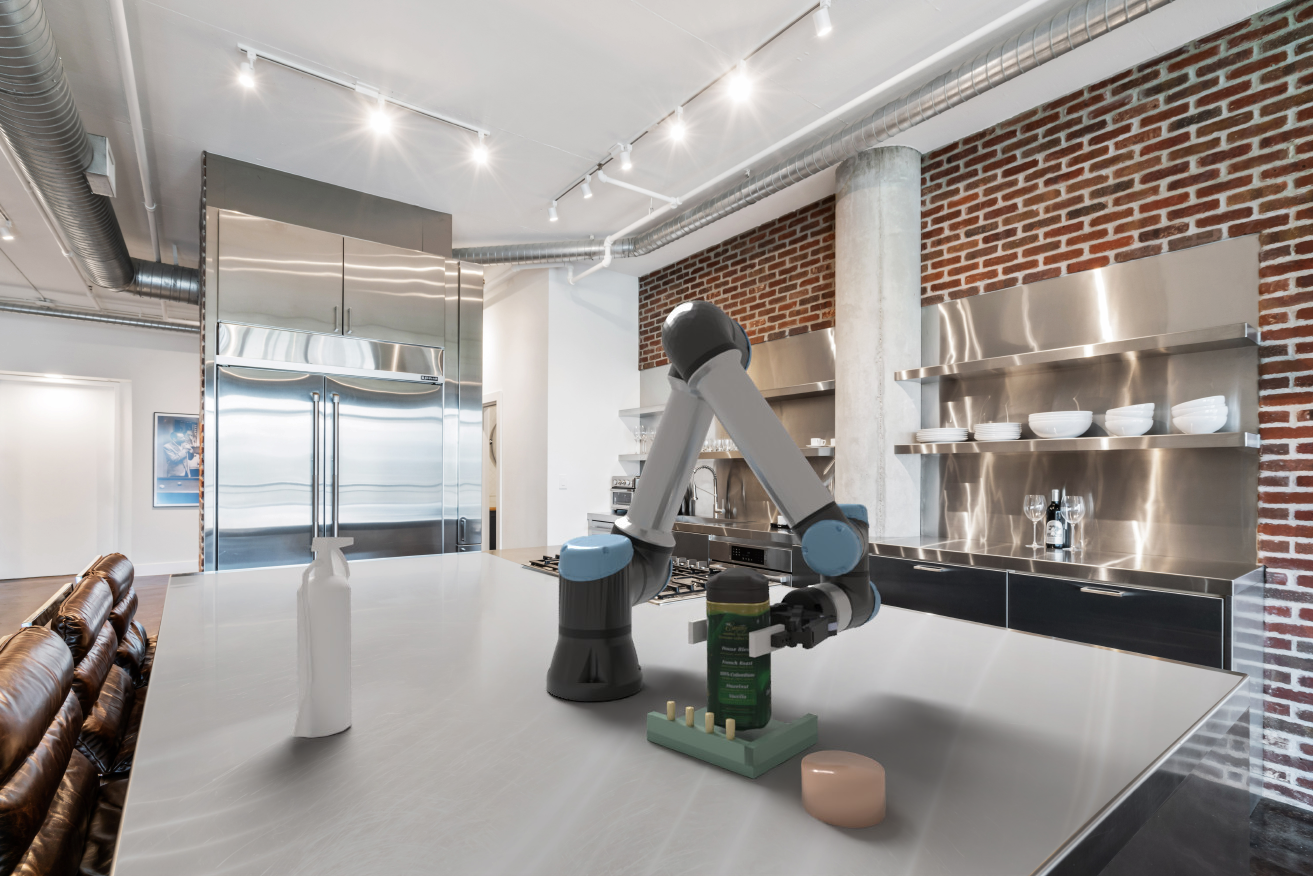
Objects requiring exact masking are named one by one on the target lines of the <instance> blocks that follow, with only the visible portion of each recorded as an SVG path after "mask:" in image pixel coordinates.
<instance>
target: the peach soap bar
mask: <svg viewBox="0 0 1313 876" xmlns="http://www.w3.org/2000/svg"><path fill="white" fill-rule="evenodd" d="M800 767H801V768H800V770H801V805H802V807H803V809H804V810H805V812H806V813H807V814H809V815H810V816H811V817H813V818H815V819H816V820H818V821H821V822H822V823H826V824H828V825H831V826H836V827H841V828H849V829H850V828H851V829H853V828H854V829H855V828H856V829H858V828H868V827H872V826H876V825H878V824H880V823H881V822H882V821H884V820H885V818H886V816H887V809H886V808H887V805H886V772H885V771H886V770H885V768H884V767H883V766H882V765H881V763H879V762H878V761H876V760H874V759H873V758H870V757H868V756H866V755H862V754H859V753H855V752H850V751H846V750H820V751H814V752H811V753H809V754H807V755H805V756H804V757H803V758H802V759H801V765H800ZM885 815H886V816H885Z"/></svg>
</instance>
